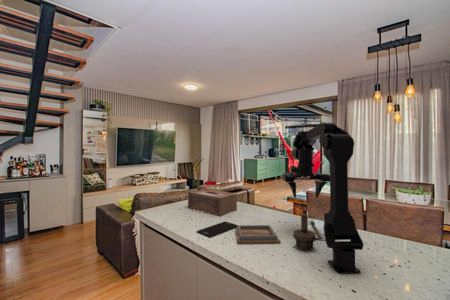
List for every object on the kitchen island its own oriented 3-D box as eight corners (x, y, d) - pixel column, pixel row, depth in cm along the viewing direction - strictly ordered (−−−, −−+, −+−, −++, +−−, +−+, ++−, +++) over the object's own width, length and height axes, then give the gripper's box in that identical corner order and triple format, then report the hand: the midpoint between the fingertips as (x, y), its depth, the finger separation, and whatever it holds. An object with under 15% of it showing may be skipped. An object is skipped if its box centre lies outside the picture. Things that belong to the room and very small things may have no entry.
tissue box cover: (188, 208, 132) (188, 191, 132) (205, 204, 143) (205, 188, 143) (220, 217, 115) (220, 198, 115) (236, 211, 126) (236, 193, 126)
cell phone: (196, 233, 93) (196, 231, 93) (225, 223, 106) (225, 221, 106) (209, 239, 87) (209, 236, 87) (239, 227, 100) (239, 225, 100)
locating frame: (277, 240, 83) (277, 236, 83) (240, 240, 82) (240, 236, 82) (269, 228, 95) (269, 225, 95) (237, 228, 94) (237, 225, 94)
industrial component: (318, 247, 79) (318, 213, 79) (312, 254, 73) (312, 218, 73) (292, 240, 85) (292, 209, 85) (285, 247, 79) (285, 213, 79)
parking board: (280, 243, 82) (280, 241, 82) (237, 244, 81) (237, 241, 81) (271, 229, 96) (271, 227, 96) (234, 230, 95) (234, 228, 95)
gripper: (319, 160, 101) (319, 193, 101) (278, 160, 101) (278, 194, 101) (331, 161, 90) (331, 199, 90) (285, 161, 90) (285, 199, 90)
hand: (305, 197), depth 93 cm, fingers open, 9 cm apart
